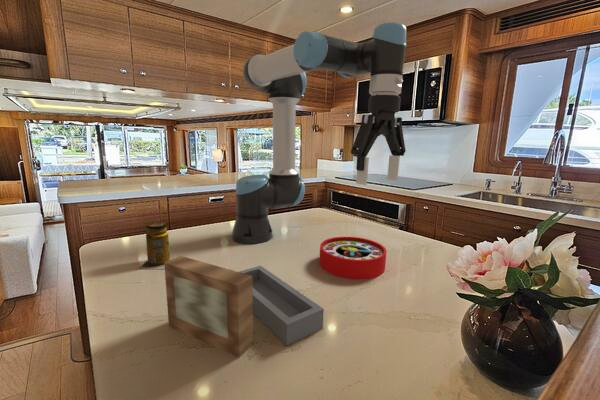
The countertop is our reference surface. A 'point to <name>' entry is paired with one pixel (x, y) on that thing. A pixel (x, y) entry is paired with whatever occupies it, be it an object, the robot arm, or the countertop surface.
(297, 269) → the countertop surface
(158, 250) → the condiment
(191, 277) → the walnut frame
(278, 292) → the charcoal tray
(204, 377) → the countertop surface
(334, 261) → the toy clock
